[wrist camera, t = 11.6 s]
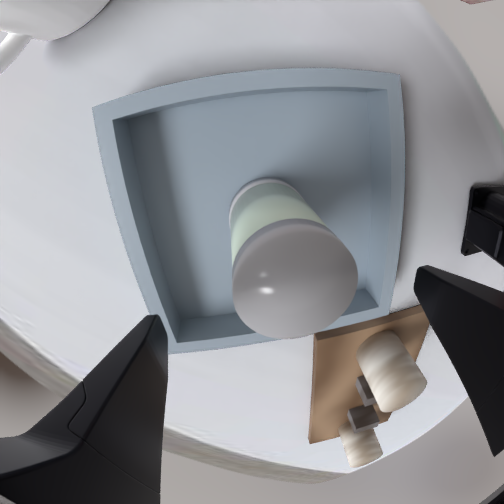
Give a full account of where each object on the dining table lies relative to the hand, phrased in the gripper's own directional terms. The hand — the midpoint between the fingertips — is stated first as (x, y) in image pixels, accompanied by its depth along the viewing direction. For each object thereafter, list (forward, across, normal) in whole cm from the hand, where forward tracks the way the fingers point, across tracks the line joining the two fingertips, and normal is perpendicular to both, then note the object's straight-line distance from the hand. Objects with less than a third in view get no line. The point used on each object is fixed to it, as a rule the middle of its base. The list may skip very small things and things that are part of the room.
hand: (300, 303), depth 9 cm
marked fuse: (+9, 0, 0) cm, 9 cm away
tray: (+10, 0, 0) cm, 10 cm away
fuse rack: (+10, -9, +22) cm, 26 cm away
